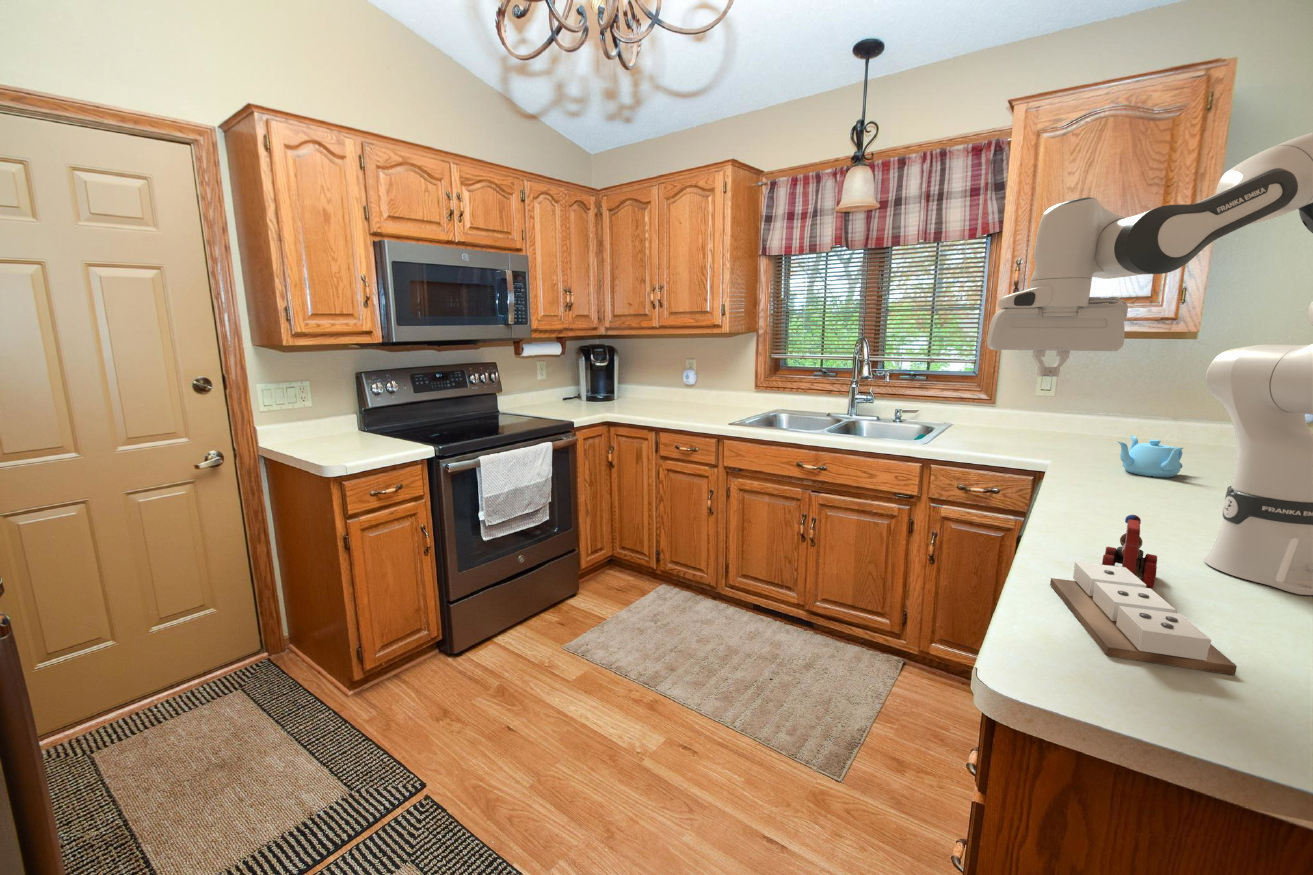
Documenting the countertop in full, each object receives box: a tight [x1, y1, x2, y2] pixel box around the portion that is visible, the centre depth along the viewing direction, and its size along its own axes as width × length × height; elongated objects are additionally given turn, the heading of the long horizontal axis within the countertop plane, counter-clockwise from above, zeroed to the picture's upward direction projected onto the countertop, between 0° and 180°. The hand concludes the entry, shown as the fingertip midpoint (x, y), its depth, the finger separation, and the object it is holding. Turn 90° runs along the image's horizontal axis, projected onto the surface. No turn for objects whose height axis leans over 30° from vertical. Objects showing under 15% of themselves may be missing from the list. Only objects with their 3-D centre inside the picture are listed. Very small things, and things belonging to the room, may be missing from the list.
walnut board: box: [1049, 577, 1238, 676], centre depth 80 cm, size 13×22×3 cm, turn 161°
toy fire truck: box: [1101, 514, 1158, 590], centre depth 95 cm, size 7×12×10 cm, turn 139°
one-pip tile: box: [1072, 561, 1146, 596], centre depth 88 cm, size 7×7×3 cm
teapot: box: [1116, 434, 1184, 479], centre depth 168 cm, size 15×15×10 cm
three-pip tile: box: [1116, 606, 1212, 661], centre depth 73 cm, size 7×7×3 cm
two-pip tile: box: [1093, 582, 1176, 621], centre depth 80 cm, size 7×7×3 cm
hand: (1047, 376), depth 102 cm, fingers closed
